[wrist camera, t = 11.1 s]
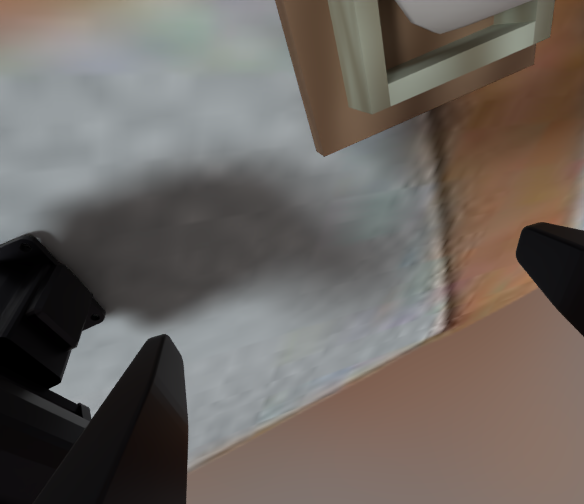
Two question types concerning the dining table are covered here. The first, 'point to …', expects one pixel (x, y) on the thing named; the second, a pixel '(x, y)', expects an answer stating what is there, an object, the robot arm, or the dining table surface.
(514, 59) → the stand
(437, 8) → the salt shaker
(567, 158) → the dining table surface
